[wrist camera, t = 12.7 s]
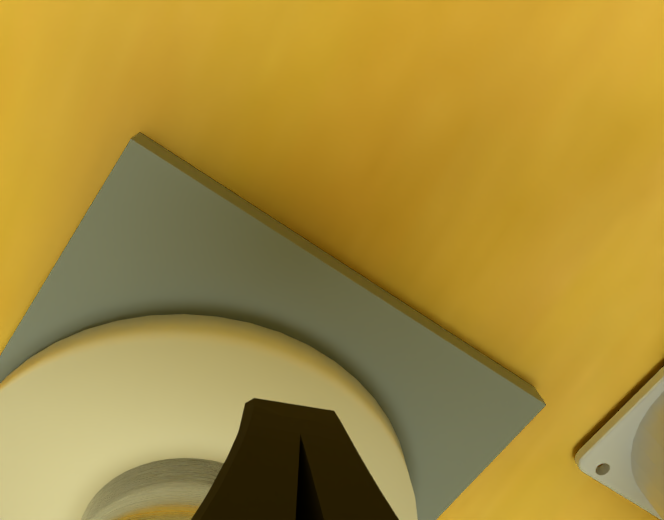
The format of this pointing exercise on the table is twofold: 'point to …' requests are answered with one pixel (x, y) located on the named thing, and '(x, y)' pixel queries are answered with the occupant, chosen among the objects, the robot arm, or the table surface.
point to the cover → (155, 491)
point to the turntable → (166, 407)
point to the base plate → (276, 311)
